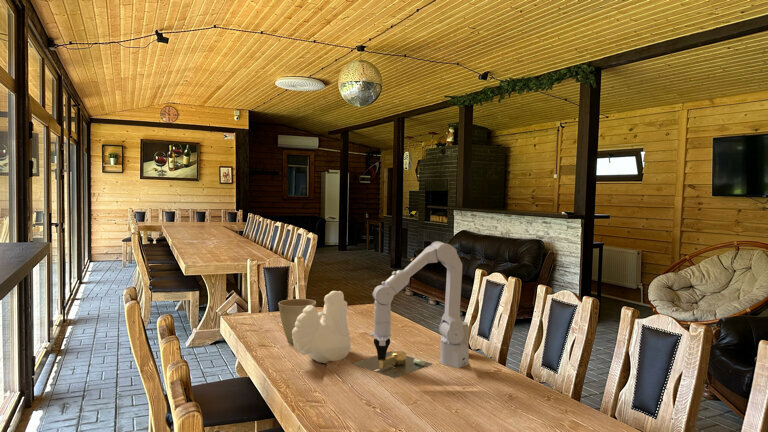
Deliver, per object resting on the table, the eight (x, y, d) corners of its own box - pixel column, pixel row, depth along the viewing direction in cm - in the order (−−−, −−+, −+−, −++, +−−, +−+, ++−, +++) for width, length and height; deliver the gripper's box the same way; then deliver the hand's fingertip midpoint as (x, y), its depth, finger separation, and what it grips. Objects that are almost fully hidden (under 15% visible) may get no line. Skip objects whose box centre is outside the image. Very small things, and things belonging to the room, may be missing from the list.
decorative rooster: (335, 349, 198) (336, 285, 197) (359, 360, 186) (361, 292, 185) (276, 362, 183) (277, 292, 181) (298, 374, 170) (299, 300, 169)
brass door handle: (397, 359, 183) (397, 350, 183) (408, 362, 180) (408, 353, 179) (375, 367, 173) (375, 358, 173) (386, 371, 170) (386, 361, 170)
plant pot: (319, 337, 215) (319, 299, 214) (310, 347, 200) (311, 307, 199) (284, 335, 216) (284, 297, 215) (273, 345, 201) (273, 305, 201)
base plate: (433, 368, 179) (433, 359, 179) (394, 382, 164) (394, 373, 164) (391, 355, 193) (391, 346, 192) (351, 367, 178) (351, 358, 178)
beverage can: (448, 354, 194) (449, 323, 193) (454, 350, 200) (455, 319, 199) (465, 357, 191) (465, 325, 190) (470, 353, 197) (471, 322, 196)
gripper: (370, 315, 182) (369, 353, 182) (370, 326, 167) (369, 367, 168) (390, 316, 182) (389, 353, 183) (392, 326, 167) (391, 367, 168)
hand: (381, 360), depth 175 cm, fingers closed
